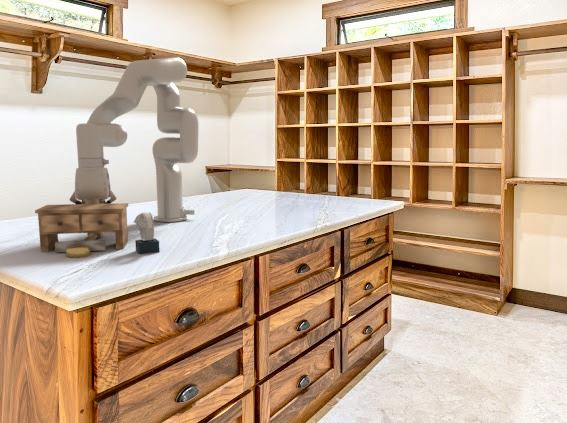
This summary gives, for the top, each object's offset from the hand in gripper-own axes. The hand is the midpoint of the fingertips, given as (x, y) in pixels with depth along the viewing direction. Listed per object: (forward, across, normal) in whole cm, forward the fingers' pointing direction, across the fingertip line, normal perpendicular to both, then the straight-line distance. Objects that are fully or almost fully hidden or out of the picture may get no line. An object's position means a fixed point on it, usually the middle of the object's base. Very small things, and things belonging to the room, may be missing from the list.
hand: (94, 220), depth 151 cm
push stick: (+5, 0, +9) cm, 10 cm away
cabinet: (+5, 0, +13) cm, 14 cm away
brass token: (+5, 0, +24) cm, 24 cm away
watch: (+6, -18, +22) cm, 29 cm away
